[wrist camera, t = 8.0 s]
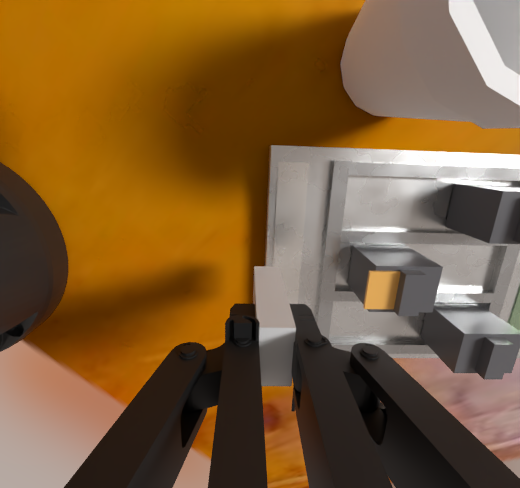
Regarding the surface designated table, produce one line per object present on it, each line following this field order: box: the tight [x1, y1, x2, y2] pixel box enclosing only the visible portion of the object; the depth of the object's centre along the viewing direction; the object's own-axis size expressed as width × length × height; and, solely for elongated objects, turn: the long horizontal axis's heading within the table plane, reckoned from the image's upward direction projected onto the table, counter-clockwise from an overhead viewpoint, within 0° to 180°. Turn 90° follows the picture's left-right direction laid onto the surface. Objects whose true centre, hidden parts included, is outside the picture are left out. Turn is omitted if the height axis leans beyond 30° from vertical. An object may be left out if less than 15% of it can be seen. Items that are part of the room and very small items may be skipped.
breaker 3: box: [421, 303, 520, 379], centre depth 21 cm, size 4×3×5 cm
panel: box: [264, 145, 520, 358], centre depth 22 cm, size 22×16×2 cm
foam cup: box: [340, 0, 520, 128], centre depth 13 cm, size 10×9×13 cm
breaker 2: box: [445, 184, 520, 244], centre depth 19 cm, size 4×3×5 cm
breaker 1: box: [348, 245, 443, 316], centre depth 19 cm, size 4×3×5 cm
